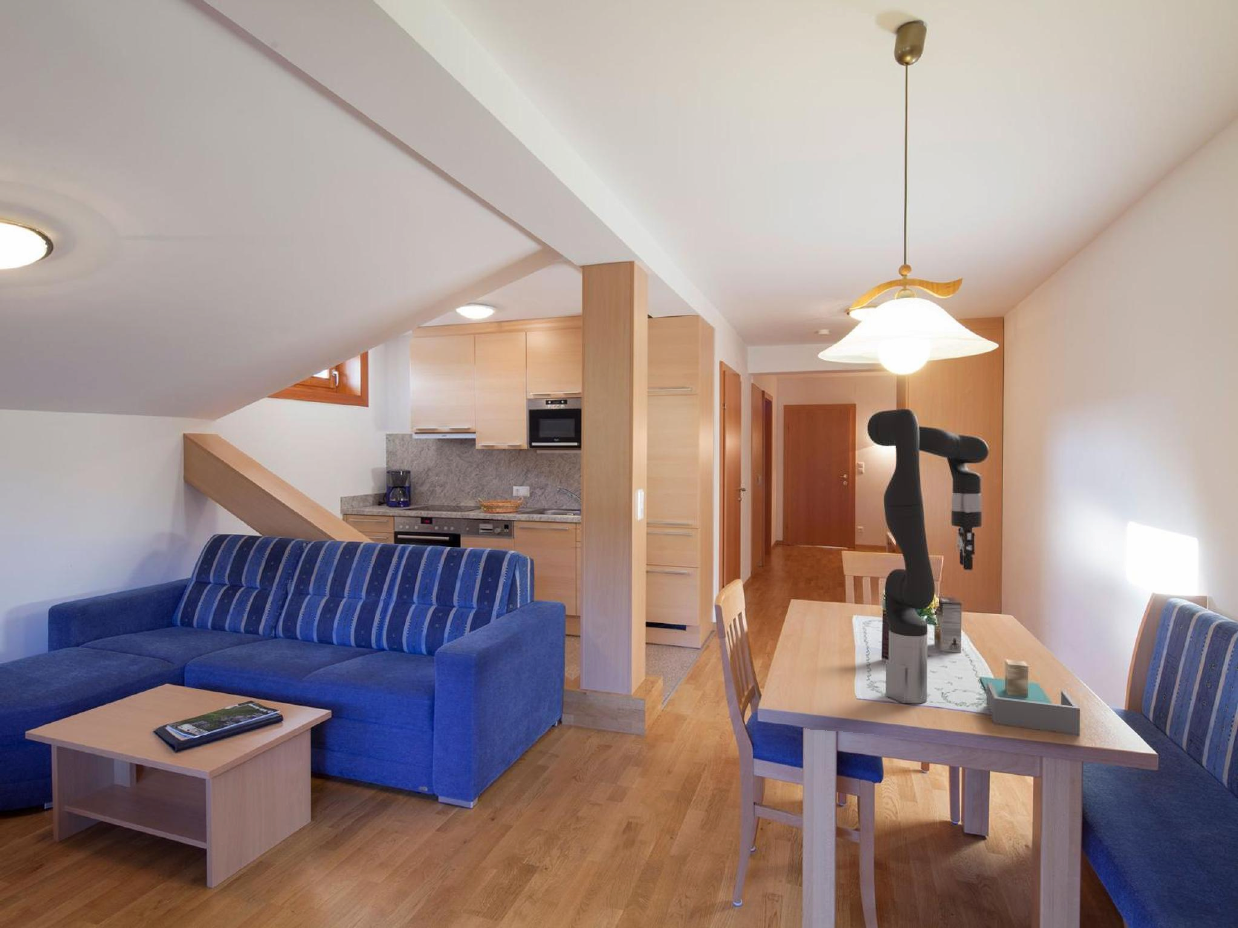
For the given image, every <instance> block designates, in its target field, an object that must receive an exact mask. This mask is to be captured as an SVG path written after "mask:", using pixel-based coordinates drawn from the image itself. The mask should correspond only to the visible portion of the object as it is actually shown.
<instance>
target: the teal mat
mask: <svg viewBox="0 0 1238 928" xmlns="http://www.w3.org/2000/svg"><path fill="white" fill-rule="evenodd" d="M979 679H980V681H981V683H982V685H984V686H983V688H984V687H985V688H984V691H985V692H986V691H987V682H990V683H992V685H993V687H994V689H995V691H996V693H997V695H998V697H1000V698H1009V699H1017V700H1025V701H1034V702H1042V703H1050V704H1053V703H1052V701H1051V700H1050V698H1049V697H1048V695H1047V694H1046V692H1045V691H1044V689H1042V687H1041V685H1040V684H1039V683H1038V682H1031V681H1028V697H1025V696H1016V695H1008V693H1007V692H1006V690H1005V678H995V677H986V676H980V678H979Z"/></svg>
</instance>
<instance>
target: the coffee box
mask: <svg viewBox="0 0 1238 928" xmlns="http://www.w3.org/2000/svg"><path fill="white" fill-rule="evenodd" d="M937 597H938V598H939V606H938V607H937V609H936V611H935V612H934V611H933V612H934V613H935V615H936V618H937V621H938V626H934V625H933V626H934V627H933V630H934V631H933V633H934V634H933V635H934V636H933V637H934V639H933V641H934V642H933V643H934V645H935V647H936V648H938V650H939V651H940V650H941V651H940V652H943V653H944V652H945V653H948V652H949V653H962V615H963V612H962V611H963V606H962V605H963V604H962V603H961V602H960V601H959V600H958V599H957V598H955V597H947V596H945V597H943V596H937Z"/></svg>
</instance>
